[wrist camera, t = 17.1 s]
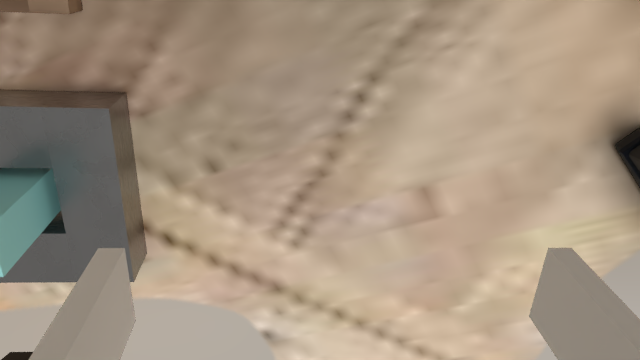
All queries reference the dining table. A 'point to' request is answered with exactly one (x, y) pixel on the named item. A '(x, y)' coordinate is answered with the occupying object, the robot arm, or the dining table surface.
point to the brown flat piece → (41, 6)
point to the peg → (24, 210)
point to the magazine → (631, 153)
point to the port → (75, 178)
